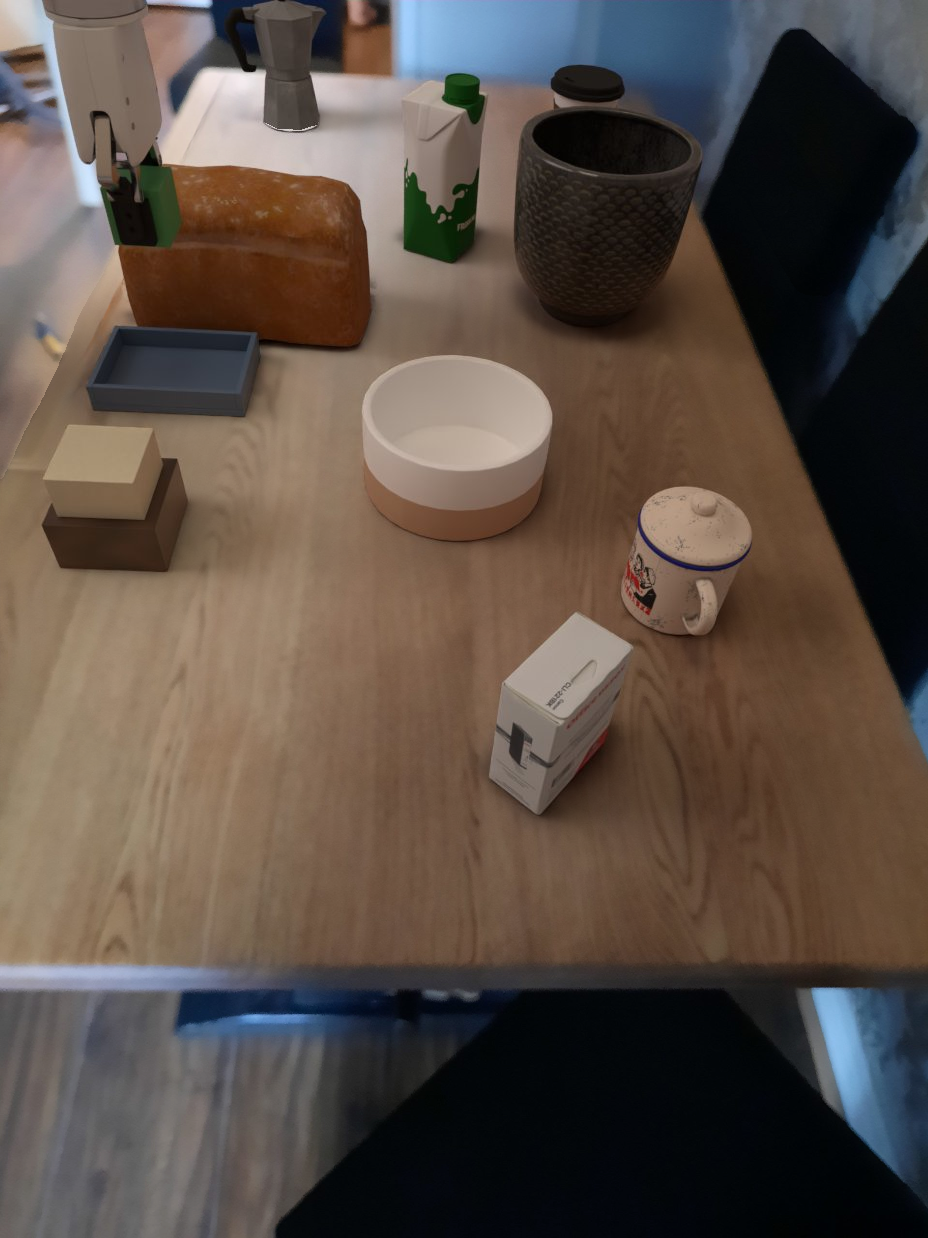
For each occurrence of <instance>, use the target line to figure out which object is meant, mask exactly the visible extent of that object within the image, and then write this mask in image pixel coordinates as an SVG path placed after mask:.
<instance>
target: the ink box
mask: <svg viewBox="0 0 928 1238" xmlns="http://www.w3.org/2000/svg"><path fill="white" fill-rule="evenodd" d="M633 652H634V646H633V644H631V643H630V642H628V641H626V640H625V639H623V638H621V637H619V636H618V635H617V634H615V633H613V632H611V630H608V629H607V628H605V627H604V626H602V625H600V624H599V623H597V622H595V621H594V620H592V619H591V618H590V617H587V616H586V615H584V614H582V613H581V612H579V611H575V612H574V613H573V614H572V615H571V616H570V617H568V619H566V621H565V622H564V623H563V624H562V625H561V626H559V627H558V629H556V630H555V631H554V633H552V634H551V635H550V636H549V637H548V638H546V640H545V641H544V642H543V643H542V644H541V645H540V646H539V647H538V648H537V649H536V650H535V651H534V652H533V653H532V654H530V655H529V656H528V657H527V658H526V659H525V660H524V661H523V662H522V663H521V664H520V665H519V666H518V667H517V668H516V669H515V670H514V671H513V672H512V673H511V674H510V675H509V676H507V678H505V680H503V681H502V683H501V688H500V689H501V690H500V694H499V695H500V696H499V703H498V709H497V716H496V723H495V731H494V737H493V738H494V739H493V745H492V752H491V760H490V767H489V773H488V778H489V779H490V780H491V781H493V782H494V783H495V784H497V786H499V787H500V788H502V789H503V790H505V791H506V792H507V793H508V794H510V795H511V796H512V797H513V798H514V799H516V800H517V801H518V802H520V804H522V805H524V806H525V807H526V808H527V809H528V810H530V811H531V812H533V814H534V815H538V816H539V815H541V814H543V812H544V811H545V810H546V809H547V808H548V806H550V804H552V802H553V801H554V800H555V799H556V798H557V796H558V795H559V794H560V793H561V792H562V791H563V790H564V788H566V786H568V784H569V783H570V782H571V780H572V779H573V778H574V777H575V776H576V775H577V774H578V773H579V771H580V770H581V769H582V768H583V767H584V766H585V765H586V764H587V762H588V761H589V760H590V759H591V758H592V757H593V755H595V753H596V752H597V751H598V749H600V748H601V747H602V745H603V744H604V743H605V739H606V737H607V733H608V731H609V727H610V724H611V721H612V718H613V714H614V712H615V708H616V706H617V703H618V698H619V696H620V693H621V689H622V686H623V683H624V680H625V677H626V675H627V671H628V668H629V665H630V661H631V657H632V656H633Z"/></svg>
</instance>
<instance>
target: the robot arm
mask: <svg viewBox="0 0 928 1238" xmlns="http://www.w3.org/2000/svg"><path fill="white" fill-rule="evenodd" d="M41 2H42V7H43V11H44V14H45V16H46V18H47V19H49V20H50V21H52V32H53V40H54V41H53V42H54V47H55V48H54V49H55V54H56V62H57V66H58V72H59V76H60V83H61V87H62V92H63V95H64V100H65V105H66V109H67V115H68V117H69V122H70V123H69V124H70V126H71V130H72V135H73V140H74V143H75V148H76V152H77V155H78V158H79V159H80V161H81V163H83V164H85V165H89V166H90V165H92V164H93V163H94V162H95V167H96V180H97V183H98V184H99V185H100V186H103V187H104V188H105V190H106V192H107V197H108V200H109V202H110V203H111V207H112V211H113V215H114V219H115V223H116V227H117V230H118V234H119V238H120V241H121V243H122V244H124V245H135V246H156V245H157V242H158V238H157V233H156V229H155V224H154V220H153V215H152V211H151V206H150V202H149V198H144V193H143V186H142V179H141V172H140V165H144V166H162V164H163V157H162V154H161V149H160V147H159V144H158V143H159V142H158V139H159V137H158V135H159V133H160V131H161V128H162V123H163V116H162V108H161V107H162V106H161V102H160V96H159V95H160V94H159V91H158V84H157V79H156V75H155V71H154V66H153V62H152V58H151V54H150V49H149V45H148V41H147V37H146V33H145V28H144V25H143V22H142V20H143V19H144V18H146V17H147V16H148V14H149V6H148V1H147V0H41ZM117 153H118V154H125V156H126V159H117ZM117 169H126V170H130V176H131V182H132V184H131V182H130V181H129V180H128V179H127V178H126V177H121V176H120V173H119V172H118V170H117Z"/></svg>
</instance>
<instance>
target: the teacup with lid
mask: <svg viewBox="0 0 928 1238" xmlns="http://www.w3.org/2000/svg"><path fill="white" fill-rule="evenodd" d="M634 536H635V537H634V539H633V543H632V545H631V549H630V553H629V556H628V559H627V562H626V567H625V570H624V573H623V576H622V580H621V583H620V595H621V599H622V602H623V604H624V606H625V608H626V610H628V612H629V613H630V614H631V615H632V616H633V618H635V619H636V620H637V621H638V622H640V623H641V624H643V625H644V626H646V627H648V628H649V629H651V630H653V631H656V632H660V633H663V634H666V635H667V634H668V635H678V636H681V635H683V636H684V635H693V636H704V635H705V636H706V635H707V634H709V632H711V630H712V629H713V627H714V625H715V623H716V621H717V617H718V614H719V612H720V610H721V608H722V606H723V604H724V601H725V599H726V597H727V594H728V592H729V590H730V588H731V586H732V584H733V581H734V579H735V576H736V574H737V572H738V570H739V568H740V566H741V563H742V562H743V560H744V559H746V557H747V556H748V554H749V553H750V551H751V548H752V545H753V531H752V526H751V524H750V521H749V519H748V517H747V516H746V513H744V512H743V510H742V509H741V508H740V507H739V506H737V504H736V503H734V502H733V501H732V500H731V499H729V498H727V497H725V496H723V495H722V494H720V493H717V492H715V491H712V490H710V489H706V488H702V487H696V486H674V487H669V488H666V489H663V490H660V491H658V492H656V493H655V494H654V495H652V496H650V497H649V498H648V499H647V500H646V501H645V503H643V505H642V506H641V508H640V510H639V513H638V516H637V530H636V532H635V535H634Z"/></svg>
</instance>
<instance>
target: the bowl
mask: <svg viewBox="0 0 928 1238" xmlns="http://www.w3.org/2000/svg"><path fill="white" fill-rule="evenodd" d="M544 393H545V392H543V390H542V389H541V388H540V387H539V386H538V385H537V383H535V382H534V381H533V380H531V379H530V378H529V377H527V376H526V375H524V374H523V373H521V372H520V371H518V370H516V369H514V368H513V367H512V368H511V367H510V366H507V365H505V364H503V363H500V362H497V361H494V360H490V359H486V358H481V357H477V356H469V355H458V354H443V355H441V354H440V355H439V354H438V355H433V356H432V355H431V356H425V357H420V358H415V359H411V360H408V361H405V362H403V363H400V364H398V365H396V366H393V367H391V368H390V369H388V370H387V371H384V372H383V373H381V374H380V375H379V376H378V377H377V378H376V379H375V380H374V381H373V382H372V383H371V384H370V386H369V388H368V389H367V391H366V393H365V394H364V398H363V401H362V405H361V424H362V425H361V426H362V449H363V469H364V470H363V471H364V484H365V485H364V487H365V489H366V492H367V495H368V497H369V499H370V501H371V502H372V504H373V505H374V507H375V508H376V509H377V511H378V512H379V513H381V514H382V515H383V516H384V517H385V518H386V519H388V521H390V522H391V523H393V524H395V525H397V526H398V527H400V528H401V529H402V530H406V531H408V532H410V533H413V534H415V535H418V536H421V537H426V538H431V539H434V540H440V541H451V542H459V541H460V542H461V541H465V542H466V541H477V540H482V539H487V538H491V537H494V536H496V535H499V534H502V533H505V532H507V531H509V530H510V529H513V528H514V527H516V526H517V525H519V524H520V523H521V522H522V521H523V520H525V519H526V518H527V517H528V516H529V515H531V512H532V511H533V509H534V508H535V507H536V505H537V503H538V501H539V497H540V494H541V491H542V485H543V480H544V473H545V468H546V464H547V459H548V454H549V447H550V442H551V436H552V432H553V431H552V430H553V411H552V408H551V405H550V401H549V399H548V398H547V396H546V394H544Z"/></svg>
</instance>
